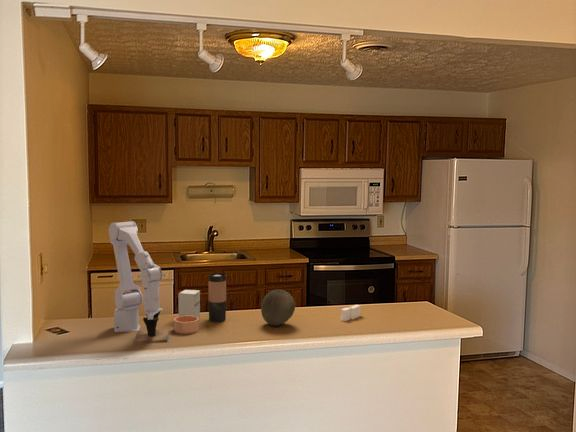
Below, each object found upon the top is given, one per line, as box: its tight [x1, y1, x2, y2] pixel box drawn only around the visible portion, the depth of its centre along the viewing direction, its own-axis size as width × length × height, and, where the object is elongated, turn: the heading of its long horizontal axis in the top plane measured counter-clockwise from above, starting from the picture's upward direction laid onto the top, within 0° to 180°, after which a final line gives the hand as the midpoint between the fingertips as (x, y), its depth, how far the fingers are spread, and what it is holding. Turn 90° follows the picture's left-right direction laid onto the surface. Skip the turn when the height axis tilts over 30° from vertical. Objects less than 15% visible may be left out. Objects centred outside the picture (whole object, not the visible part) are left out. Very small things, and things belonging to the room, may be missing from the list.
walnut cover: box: [133, 327, 170, 344], centre depth 209 cm, size 12×12×4 cm
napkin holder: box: [340, 304, 362, 322], centre depth 240 cm, size 15×11×6 cm
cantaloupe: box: [260, 289, 296, 327], centre depth 228 cm, size 14×14×15 cm
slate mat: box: [132, 331, 171, 345], centre depth 209 cm, size 13×13×1 cm
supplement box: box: [177, 289, 201, 319], centre depth 233 cm, size 7×7×13 cm
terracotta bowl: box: [173, 315, 200, 335], centre depth 219 cm, size 10×10×5 cm
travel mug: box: [208, 272, 227, 323], centre depth 234 cm, size 8×8×20 cm
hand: (152, 332), depth 209 cm, fingers open, 7 cm apart
